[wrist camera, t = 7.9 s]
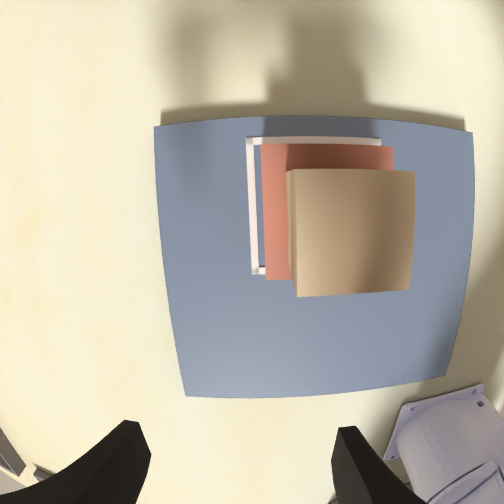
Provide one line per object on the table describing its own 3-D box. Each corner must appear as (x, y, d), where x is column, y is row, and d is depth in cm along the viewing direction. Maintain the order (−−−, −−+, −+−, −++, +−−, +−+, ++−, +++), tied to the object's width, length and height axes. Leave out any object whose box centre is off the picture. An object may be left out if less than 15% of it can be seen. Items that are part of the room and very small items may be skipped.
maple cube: (374, 172, 12) (415, 171, 8) (373, 259, 13) (409, 289, 9) (285, 172, 13) (294, 168, 9) (288, 263, 14) (297, 297, 10)
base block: (368, 152, 15) (392, 146, 12) (368, 256, 17) (390, 274, 13) (261, 151, 16) (260, 144, 12) (265, 260, 17) (265, 280, 14)
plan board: (464, 133, 16) (473, 132, 14) (439, 368, 20) (445, 375, 19) (159, 129, 17) (153, 126, 16) (188, 387, 21) (185, 396, 20)
